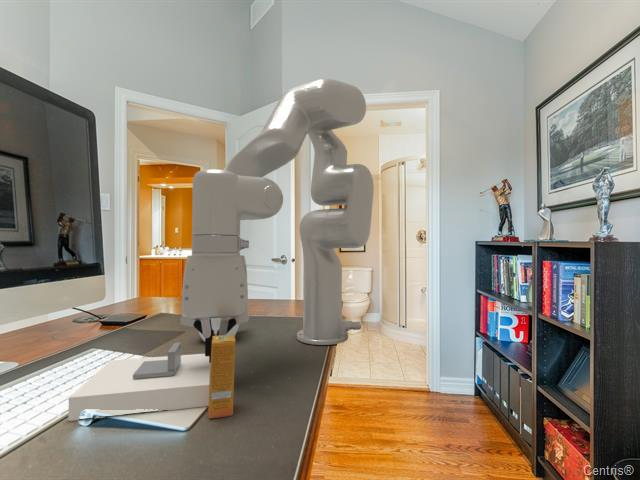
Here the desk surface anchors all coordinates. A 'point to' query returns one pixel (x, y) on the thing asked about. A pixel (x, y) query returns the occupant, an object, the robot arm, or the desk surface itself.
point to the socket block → (144, 387)
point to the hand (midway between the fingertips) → (215, 359)
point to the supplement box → (222, 376)
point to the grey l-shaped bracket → (161, 365)
